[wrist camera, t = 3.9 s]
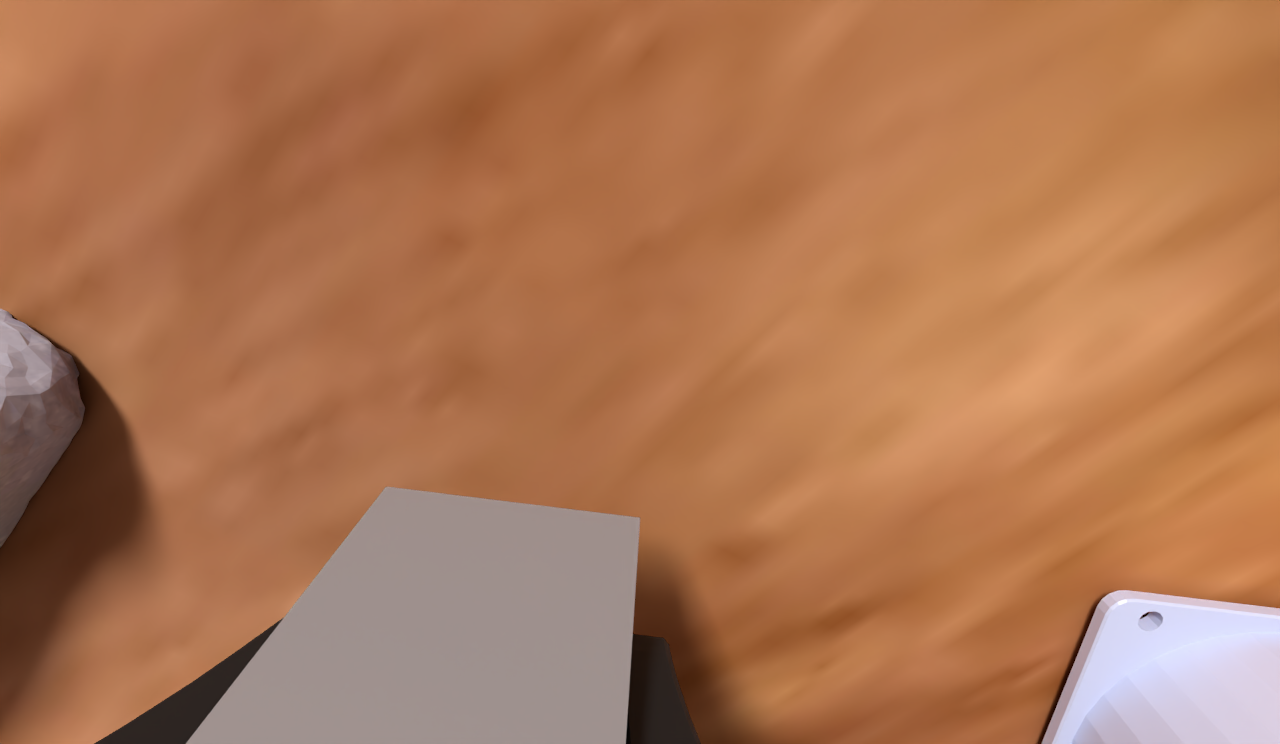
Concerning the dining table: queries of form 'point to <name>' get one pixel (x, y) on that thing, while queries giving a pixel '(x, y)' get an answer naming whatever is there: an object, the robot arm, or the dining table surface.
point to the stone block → (32, 414)
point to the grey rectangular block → (450, 632)
